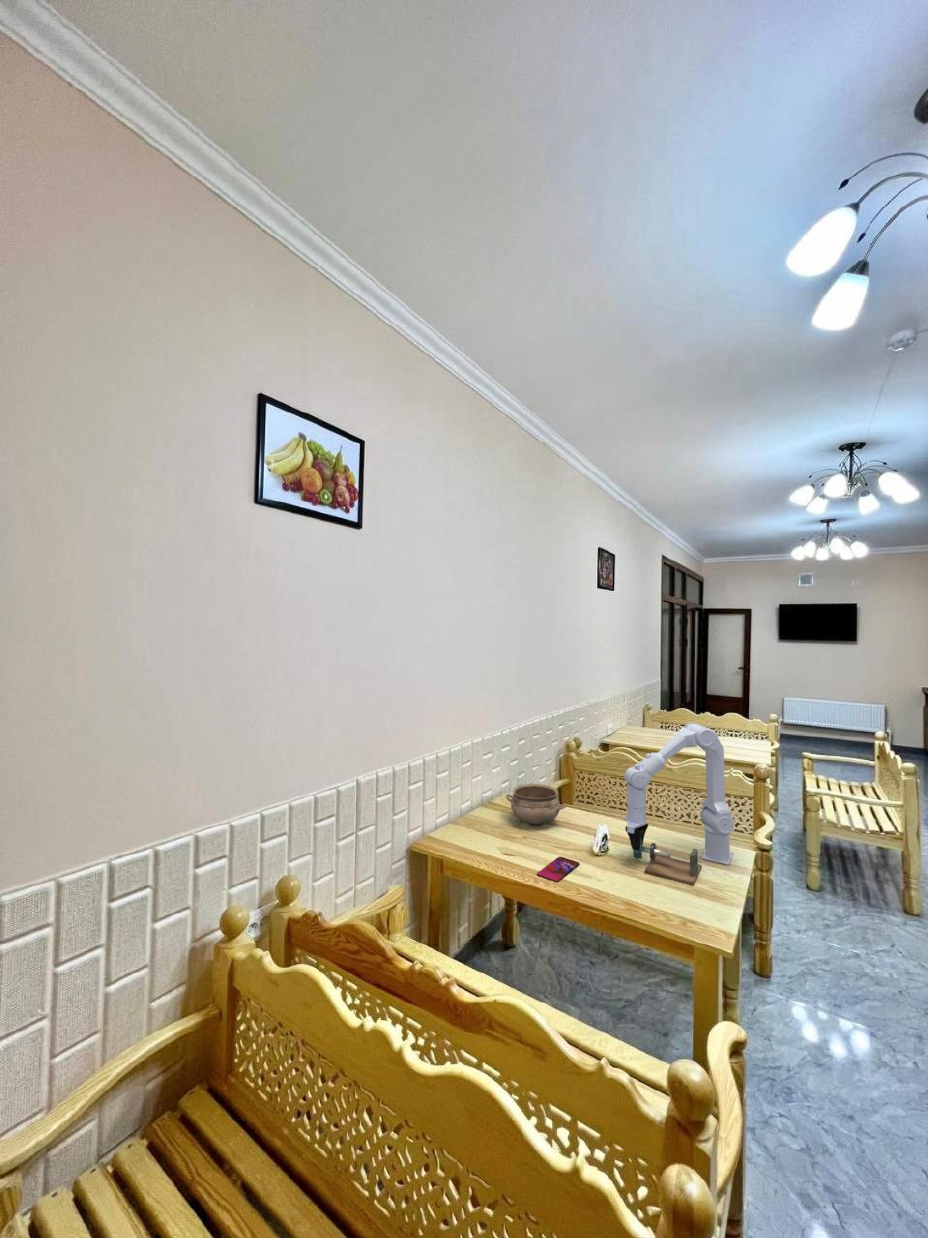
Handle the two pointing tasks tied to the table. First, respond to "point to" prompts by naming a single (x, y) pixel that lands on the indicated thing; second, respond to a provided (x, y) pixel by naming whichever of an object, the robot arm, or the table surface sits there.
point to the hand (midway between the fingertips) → (637, 847)
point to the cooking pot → (535, 803)
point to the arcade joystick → (651, 850)
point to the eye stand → (676, 868)
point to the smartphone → (558, 869)
